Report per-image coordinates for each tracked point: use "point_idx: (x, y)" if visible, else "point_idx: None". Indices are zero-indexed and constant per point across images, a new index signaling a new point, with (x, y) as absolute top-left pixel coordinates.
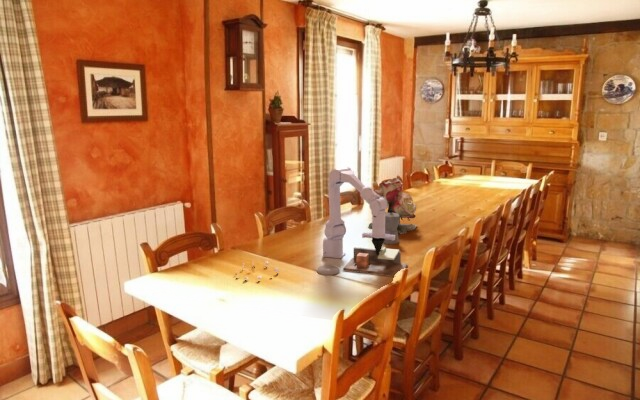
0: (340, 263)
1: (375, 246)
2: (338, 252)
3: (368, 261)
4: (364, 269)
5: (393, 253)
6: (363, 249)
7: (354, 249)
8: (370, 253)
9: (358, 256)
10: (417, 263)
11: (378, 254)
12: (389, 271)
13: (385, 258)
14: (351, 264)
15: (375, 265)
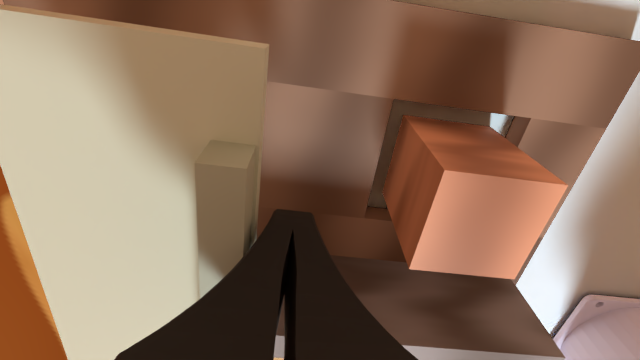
0: (608, 210)
1: (331, 290)
2: (624, 341)
3: (392, 211)
4: (429, 34)
5: (76, 245)
6: (463, 347)
7: (549, 345)
8: (384, 310)
9: (538, 178)
10: (37, 293)
11: (284, 211)
12: (152, 17)
13: (125, 26)
14: (545, 157)
15: (323, 168)
